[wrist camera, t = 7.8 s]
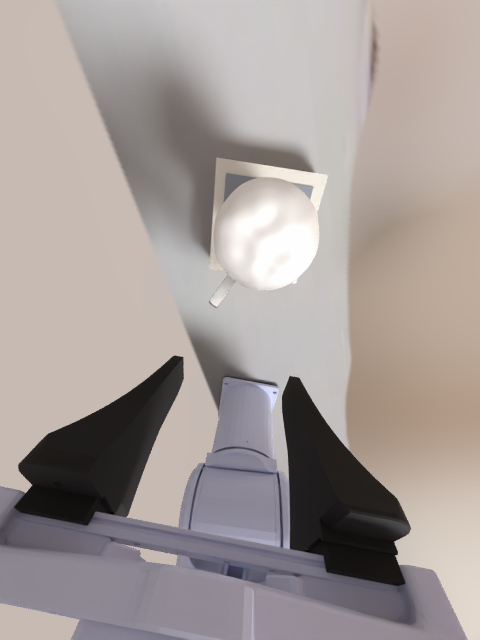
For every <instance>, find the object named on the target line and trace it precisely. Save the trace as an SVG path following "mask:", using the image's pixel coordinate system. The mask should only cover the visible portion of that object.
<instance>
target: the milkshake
mask: <svg viewBox="0 0 480 640" xmlns="http://www.w3.org/2000/svg"><path fill="white" fill-rule="evenodd" d="M318 244H319V224H318V216H317V213H316V210H315V208H314V206H313V204H312V202H311V201H310V199H309V198H308V197H307V195H306V194H305V193H304V192H303V191H302V190H301V189H300V188H298V187H297V186H295V185H294V184H292V183H290V182H288V181H286V180H283V179H279V178H272V177H261V178H255V179H252V180H249V181H247V182H245V183H243V184H242V185H240V186H239V187H238V188H236V189H235V190H234V191H233V192H232V193H231V194H230V196H229V197H228V198H227V199H226V201H225V202H224V203H223V205H222V206H221V208H220V210H219V211H218V214H217V216H216V219H215V225H214V249H215V254H216V257H217V259H218V261H219V263H220V265H221V267H222V268H223V269H224V271H225V272H226V273H227V274H228V275H227V277H226V278H225V279H224V281H223V282H222V284H221V285H220V286H219V288H218V289H217V290H216V292H215V293H214V294H213V296H212V297H211V299H210V300H209V303H210V304H211V305H213V306H214V307H215V308H218V307H219V305H220V304H221V302H222V301H223V299H224V298H225V296H226V295H227V293H228V292H229V290H230V288H231V287H232V285H233V284H234V282H235V281H236V282H237V283H239V284H240V285H242V286H244V287H246V288H249V289H252V290H259V291H266V290H274V289H278V288H281V287H284V286H286V285H288V284H289V283H291V282H292V281H294V280H295V279H296V278H298V277H299V276H300V275H301V274H302V273H303V272H304V271H305V270H306V269H307V268H308V267H309V265H310V264H311V262H312V261H313V259H314V257H315V255H316V252H317V249H318Z"/></svg>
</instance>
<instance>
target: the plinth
mask: <svg viewBox="0 0 480 640" xmlns="http://www.w3.org/2000/svg"><path fill="white" fill-rule="evenodd" d="M261 177H272V178H279V179H283V180H286V181H288V182H290V183H292V184H294V185H295V186H297V187H298V188H300V189H301V190H302V191H303V192H304V193H305V194H306V195H307V197H308V198H309V199H310V201H311V202H312V204H313V206H314V208H315V210H316V213H317V212H318V208H319V205H320V202H321V198H322V195H323V192H324V188H325V185H326V182H327V178H328V175H324V174H317V173H311V172H305V171H299V170H292V169H286V168H280V167H274V166H267V165H261V164H255V163H248V162H242V161H236V160H230V159H223V158H217V157H216V171H215V187H214V203H213V219H212V235H211V251H210V267H209V269H213V270H219V271H224V269H223V268H222V267H221V265H220V263H219V261H218V259H217V257H216V254H215V249H214V225H215V219H216V216H217V214H218V211H219V210H220V208H221V206H222V205H223V203H224V202H225V201H226V199H227V198H228V197H229V196H230V194H231V193H232V192H233V191H234V190H235V189H236V188H238V187H239V186H240V185H242V184H243V183H245V182H247V181H249V180H252V179H255V178H261ZM224 272H225V271H224ZM297 279H298V278H296V279H295V280H294V281H292V282H291V283H295V284H296V282H297Z"/></svg>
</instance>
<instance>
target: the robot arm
mask: <svg viewBox="0 0 480 640" xmlns="http://www.w3.org/2000/svg"><path fill="white" fill-rule="evenodd" d="M183 376H184V373H183V357H180V356H173V357H172V358H171V359H170V360H169V361H167V362H166V363H165V364H164V365H163V366H162V367H161V368H159V369H158V370H157V371H156V372H155V373H153V374H152V375H151V376H150V377H149V378H147V379H146V380H145V381H144V382H142V383H141V384H139V385H138V386H137V387H135V388H134V389H132V390H131V391H130V392H128V393H127V394H125V395H124V396H122V397H120V398H119V399H117V400H116V401H114V402H112V403H111V404H109V405H107V406H105V407H104V408H102V409H100V410H98V411H96V412H94V413H92V414H90V415H88V416H87V417H85V418H83V419H80V420H78V421H76V422H74V423H72V424H70V425H67V426H65V427H63V428H61V429H58V430H56V431H54V432H51V433H49V434H48V435H46V436H45V437H44V438H43V439H42V440H41V441H40V442H39V443H38V444H37V446H35V448H34V449H33V450H32V451H31V452H30V453H29V454H28V455H27V456H26V457H25V458H24V459H23V460H22V461H21V463H20V464H19V465H18V466H19V467H18V468H19V471H20V472H21V474H23V476H24V477H25V478H26V479H27V480H28V481H29V482H30V483H31V484H32V486H31V488H30V489H29V490H28V491H27V493H24V492H22V491H19V490H15V489H10V488H5V487H0V603H3V604H8V605H13V606H18V607H23V608H28V609H33V610H38V611H42V612H47V613H52V614H58V615H62V616H67V617H71V618H76V619H80V621H79V623H78V625H77V627H76V630H75V632H74V634H73V636H72V638H71V640H468V639H467V637H466V635H465V633H464V631H463V629H462V627H461V625H460V623H459V621H458V619H457V616H456V614H455V612H454V610H453V608H452V606H451V604H450V602H449V600H448V598H447V596H446V593H445V591H444V589H443V587H442V585H441V583H440V581H439V579H438V577H437V574H436V573H435V572H434V571H433V570H430V569H425V568H420V567H415V566H409V565H398V562H397V560H396V557H395V555H397V554H398V551H397V549H396V546H395V543H394V541H396V540H398V539H400V538H402V537H404V536H406V535H407V534H409V532H410V530H411V527H410V525H409V522H408V520H407V518H406V516H405V514H404V511H403V510H402V507H401V506H400V503H399V501H398V500H397V498H396V497H395V496H394V495H393V494H391V493H390V492H389V491H388V490H387V489H386V488H385V487H384V486H383V485H382V484H381V483H380V482H379V481H378V480H376V479H375V478H374V477H373V476H372V475H371V474H370V473H369V472H368V471H367V470H366V469H365V468H364V467H363V466H362V465H361V463H360V462H359V461H358V460H357V459H356V458H355V457H354V456H353V455H352V454H351V452H350V451H349V450H348V449H347V448H346V447H345V446H344V444H343V443H342V442H341V441H340V440H339V438H338V437H337V436H336V435H335V433H334V432H333V431H332V429H331V428H330V427H329V425H328V424H327V423H326V421H325V420H324V418H323V417H322V415H321V414H320V412H319V411H318V409H317V408H316V406H315V404H314V403H313V401H312V399H311V398H310V396H309V394H308V393H307V391H306V389H305V387H304V386H303V384H302V382H301V380H300V379H299V378H298V377H292V376H290V377H289V379H288V382H287V385H286V387H285V390H284V392H283V395H282V413H283V421H284V428H285V435H286V442H287V450H288V465H289V480H288V478H287V477H286V476H285V474H284V472H282V471H278V472H277V464H276V459H274V448H273V427H272V409H273V406H274V403H275V401H276V398H277V395H278V392H279V387H278V386H274V385H268V384H263V383H257V382H252V381H246V380H241V379H235V378H230V377H224V379H223V384H222V392H221V399H220V406H219V413H218V418H219V421H218V425H217V430H216V434H215V439H214V444H213V449H212V453H207V457H206V463H200V464H198V466H197V467H196V468H195V469H194V470H193V472H192V473H191V475H190V477H189V480H188V483H187V486H186V489H185V492H184V497H183V501H182V505H181V511H180V518H179V528H178V527H172V526H167V525H162V524H157V523H152V522H147V521H142V520H137V519H131V518H126V517H127V516H128V514H129V510H130V508H131V505H132V502H133V499H134V496H135V493H136V490H137V488H138V485H139V482H140V479H141V476H142V474H143V471H144V468H145V465H146V463H147V460H148V457H149V455H150V453H151V450H152V447H153V445H154V442H155V440H156V437H157V435H158V433H159V430H160V428H161V426H162V424H163V422H164V420H165V418H166V416H167V414H168V412H169V410H170V408H171V406H172V404H173V402H174V400H175V398H176V396H177V394H178V392H179V390H180V387H181V384H182V382H183V379H184V377H183ZM274 391H275V392H274ZM122 544H125V545H130V546H135V547H140V548H145V549H150V550H155V551H161V552H165V553H171V554H176V555H178V556H177V563H176V566H174V565H166V564H159V563H150V562H146V561H145V560H144V559H142V558H141V557H140V550H137V549H134V548H131V547H128V546H125V545H122Z"/></svg>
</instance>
